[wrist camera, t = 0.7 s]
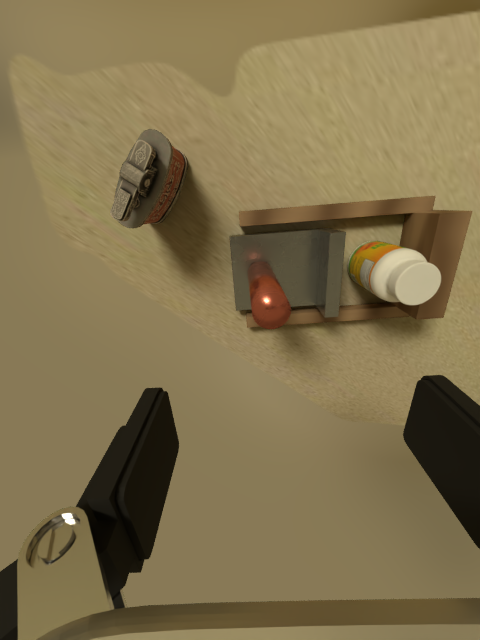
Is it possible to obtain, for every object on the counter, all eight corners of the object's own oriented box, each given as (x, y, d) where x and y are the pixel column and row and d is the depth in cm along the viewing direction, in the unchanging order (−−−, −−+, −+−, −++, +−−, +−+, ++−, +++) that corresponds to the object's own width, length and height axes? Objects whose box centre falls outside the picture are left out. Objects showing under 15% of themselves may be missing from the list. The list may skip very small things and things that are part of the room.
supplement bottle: (395, 240, 30) (460, 254, 22) (384, 284, 33) (438, 313, 24) (350, 239, 30) (396, 253, 22) (342, 283, 33) (380, 312, 24)
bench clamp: (435, 195, 28) (477, 193, 23) (410, 311, 34) (440, 329, 29) (238, 211, 29) (238, 212, 24) (246, 322, 35) (247, 342, 30)
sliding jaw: (328, 227, 30) (390, 242, 17) (324, 300, 33) (372, 354, 21) (230, 235, 30) (223, 255, 18) (236, 307, 34) (234, 363, 21)
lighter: (166, 141, 26) (127, 106, 17) (195, 161, 27) (172, 138, 18) (136, 213, 29) (89, 216, 20) (163, 229, 30) (130, 239, 21)
